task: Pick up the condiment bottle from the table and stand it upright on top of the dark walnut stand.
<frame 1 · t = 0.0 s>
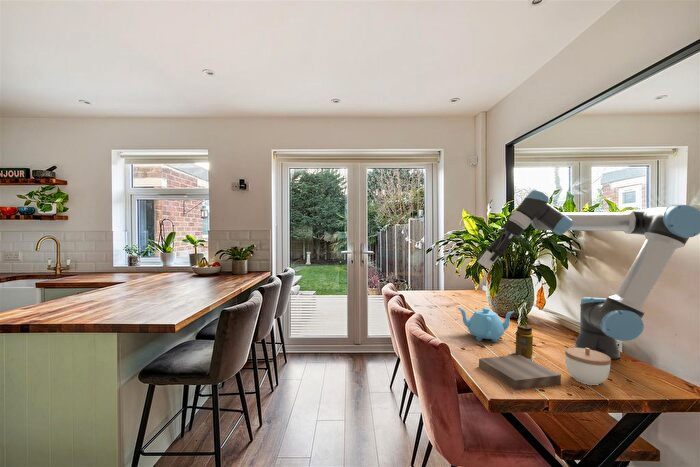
hand: (482, 265, 136), 36 cm above the table, tool tilted 35°, fingers open, 13 cm apart
lidded bowl: (586, 381, 110), on the table
teapot: (484, 338, 154), on the table
condiment: (522, 357, 131), on the table
walnut stand: (517, 374, 114), on the table
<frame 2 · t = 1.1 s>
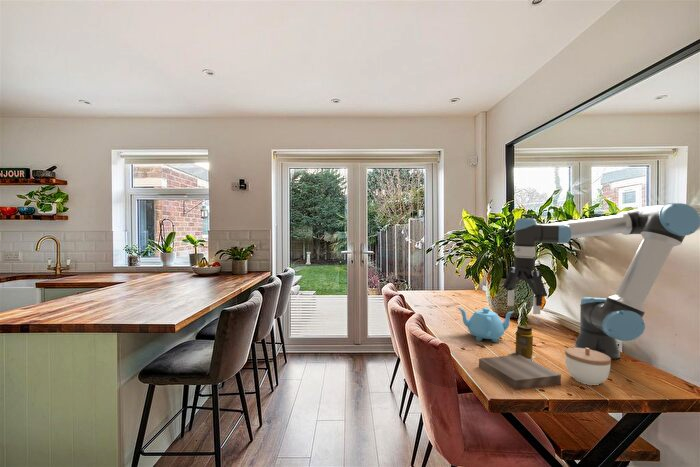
hand: (523, 309, 131), 19 cm above the table, tool pointing down, fingers open, 13 cm apart
nothing on the table moved.
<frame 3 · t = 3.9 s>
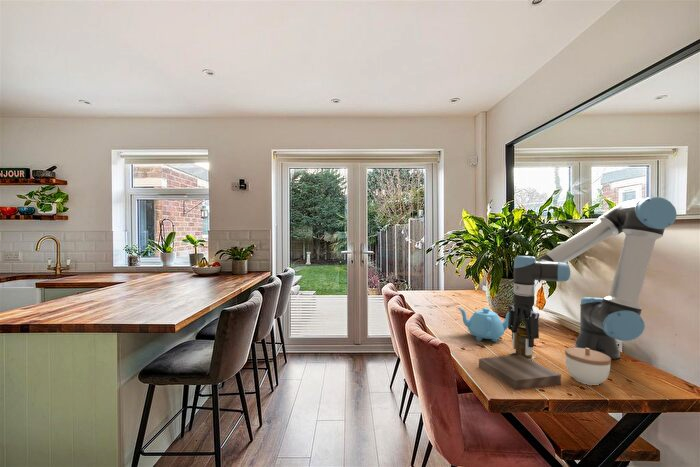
hand: (522, 351, 131), 2 cm above the table, tool pointing down, fingers closed on condiment, 6 cm apart
condiment: (522, 356, 131), on the table, touching gripper
everything else where it was.
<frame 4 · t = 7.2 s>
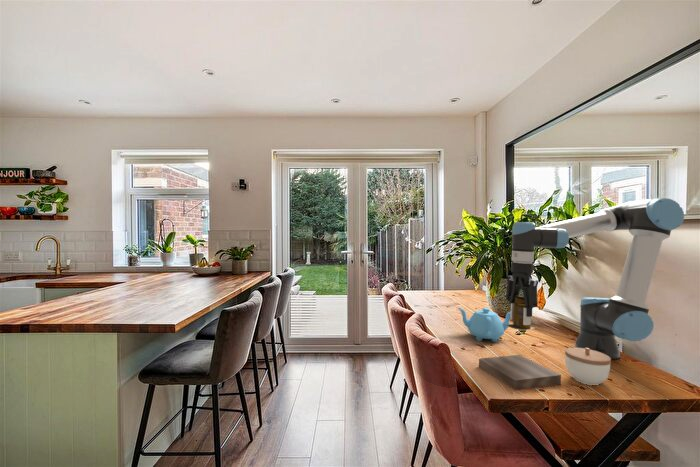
hand: (520, 322, 126), 15 cm above the table, tool pointing down, fingers closed on condiment, 6 cm apart
condiment: (520, 327, 125), point 13 cm above the table, touching gripper
everything else where it was.
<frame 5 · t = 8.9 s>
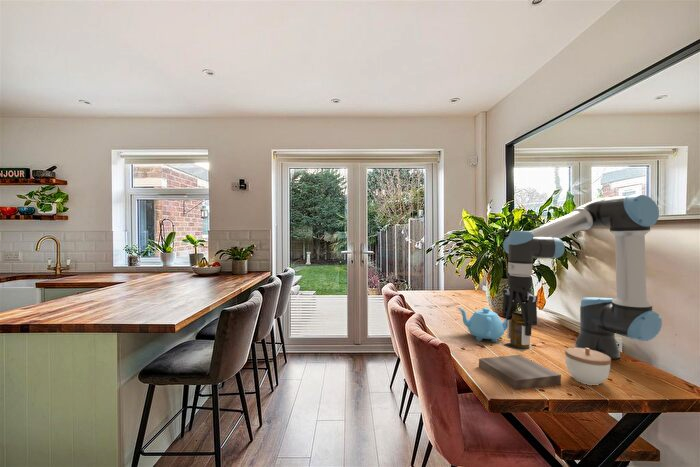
hand: (518, 341, 114), 12 cm above the table, tool pointing down, fingers closed on condiment, 6 cm apart
condiment: (518, 347, 114), point 10 cm above the table, touching gripper
everything else where it was.
when the fingers open (6 cm above the table, at t = 10.5 s): condiment drops 1 cm, resting on walnut stand.
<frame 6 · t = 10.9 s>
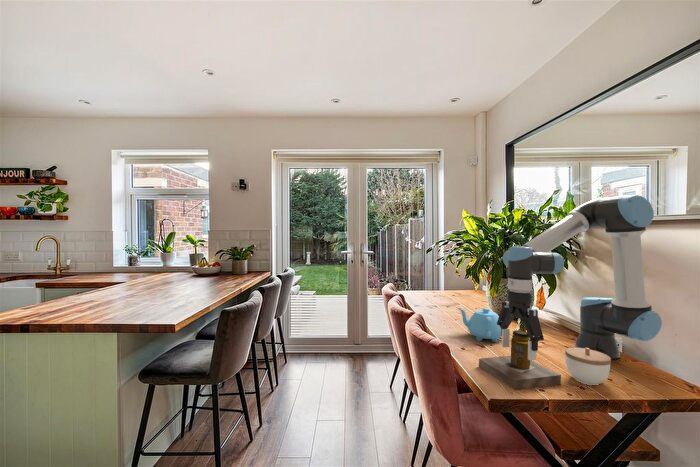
hand: (518, 352, 114), 8 cm above the table, tool pointing down, fingers open, 11 cm apart
condiment: (518, 367, 114), point 3 cm above the table, touching walnut stand
everything else where it was.
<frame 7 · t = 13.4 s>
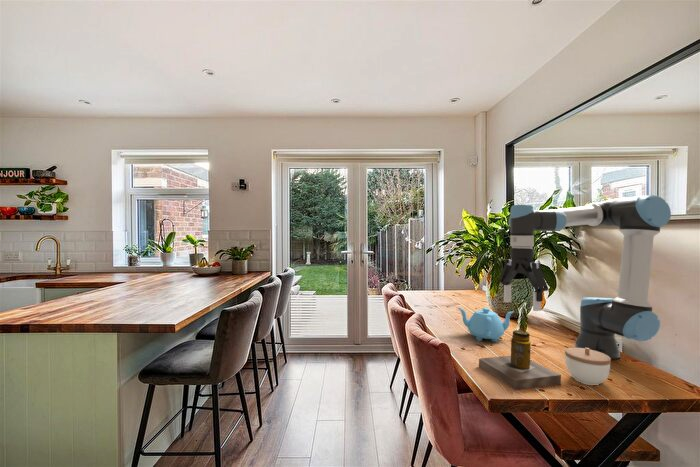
hand: (521, 306, 118), 23 cm above the table, tool pointing down, fingers open, 13 cm apart
nothing on the table moved.
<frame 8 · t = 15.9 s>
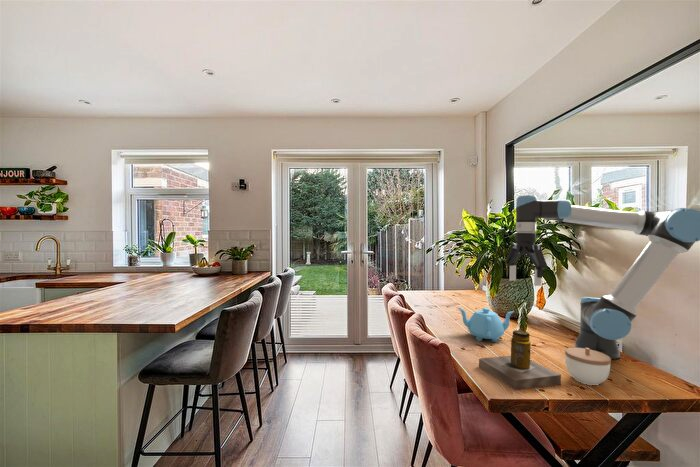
hand: (524, 283, 137), 29 cm above the table, tool pointing down, fingers open, 13 cm apart
nothing on the table moved.
at the end: condiment inside the target area on the walnut stand (0.2 cm from its centre), point 2.8 cm above the walnut stand's base; condiment tilted 0°; the gripper is holding nothing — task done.
